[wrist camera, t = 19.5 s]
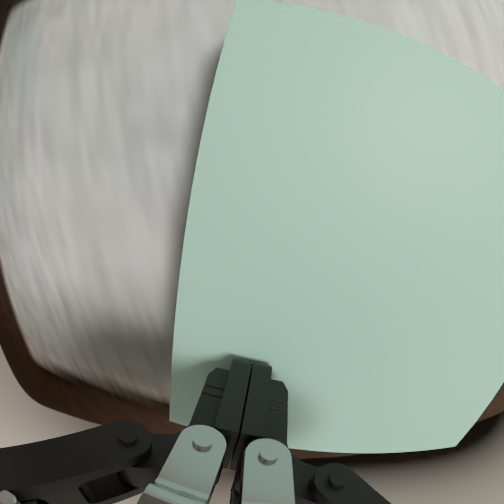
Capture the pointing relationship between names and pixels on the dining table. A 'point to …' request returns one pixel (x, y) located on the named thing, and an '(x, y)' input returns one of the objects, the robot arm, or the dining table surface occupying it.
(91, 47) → the dining table surface
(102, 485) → the robot arm
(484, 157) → the cover
